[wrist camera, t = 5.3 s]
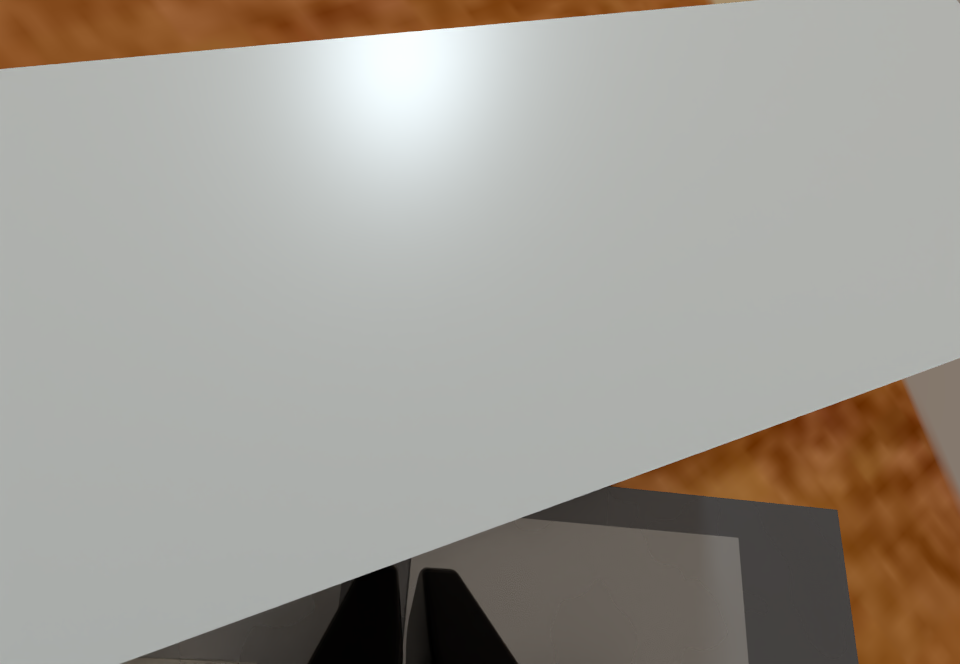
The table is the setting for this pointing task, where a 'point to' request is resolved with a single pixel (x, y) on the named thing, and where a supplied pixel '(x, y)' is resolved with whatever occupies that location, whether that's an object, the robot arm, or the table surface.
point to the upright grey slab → (439, 287)
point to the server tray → (611, 588)
